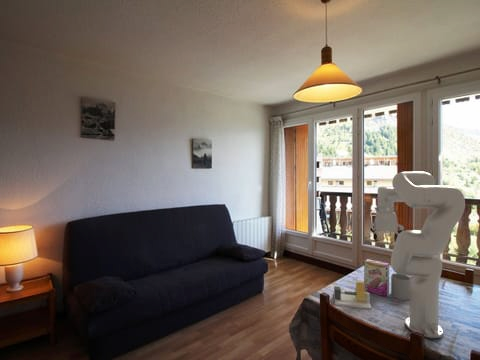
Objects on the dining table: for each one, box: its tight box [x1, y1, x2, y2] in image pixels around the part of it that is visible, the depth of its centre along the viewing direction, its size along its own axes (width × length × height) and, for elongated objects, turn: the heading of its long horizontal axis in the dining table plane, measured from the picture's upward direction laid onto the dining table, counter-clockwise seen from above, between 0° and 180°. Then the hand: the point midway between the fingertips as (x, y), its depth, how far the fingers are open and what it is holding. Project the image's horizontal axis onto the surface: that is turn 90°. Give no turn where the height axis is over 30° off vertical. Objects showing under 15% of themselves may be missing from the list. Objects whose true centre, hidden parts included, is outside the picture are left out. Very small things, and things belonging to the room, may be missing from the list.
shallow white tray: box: [333, 285, 373, 310], centre depth 126 cm, size 11×16×6 cm
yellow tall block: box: [354, 280, 367, 301], centre depth 124 cm, size 4×4×8 cm
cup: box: [390, 273, 411, 301], centre depth 130 cm, size 8×8×10 cm
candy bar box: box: [363, 258, 390, 298], centre depth 134 cm, size 11×5×16 cm, turn 47°
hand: (385, 241), depth 137 cm, fingers open, 9 cm apart
